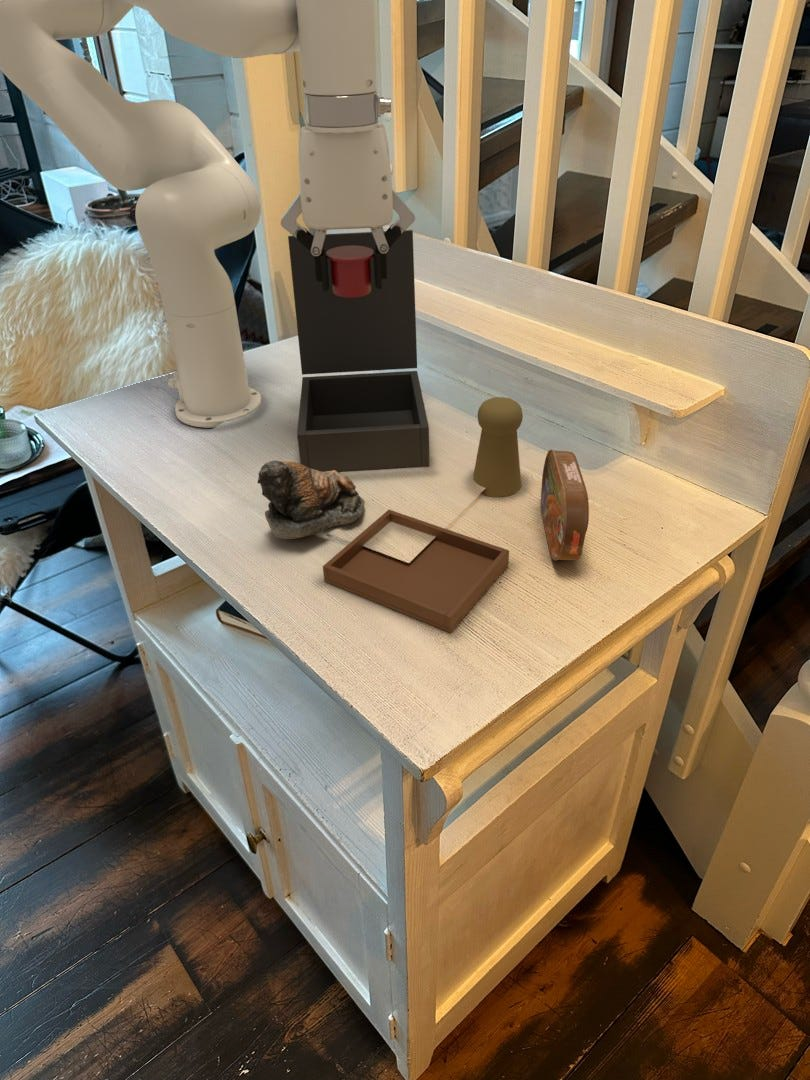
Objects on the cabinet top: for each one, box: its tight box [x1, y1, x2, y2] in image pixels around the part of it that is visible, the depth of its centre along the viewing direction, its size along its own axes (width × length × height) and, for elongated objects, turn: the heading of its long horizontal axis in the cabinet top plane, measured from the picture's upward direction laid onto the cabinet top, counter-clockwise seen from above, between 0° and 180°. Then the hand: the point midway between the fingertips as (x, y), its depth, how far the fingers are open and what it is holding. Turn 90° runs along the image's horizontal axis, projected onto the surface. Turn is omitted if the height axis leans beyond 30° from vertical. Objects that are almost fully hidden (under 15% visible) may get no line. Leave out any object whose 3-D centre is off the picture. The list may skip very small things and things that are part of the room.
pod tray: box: [322, 509, 510, 634], centre depth 79 cm, size 15×12×2 cm
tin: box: [540, 449, 590, 561], centre depth 82 cm, size 15×3×8 cm, turn 178°
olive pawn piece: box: [472, 396, 524, 498], centre depth 90 cm, size 6×6×11 cm
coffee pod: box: [326, 246, 374, 298], centre depth 89 cm, size 6×6×4 cm
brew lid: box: [287, 229, 418, 376], centre depth 103 cm, size 18×16×5 cm
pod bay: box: [296, 370, 430, 473], centre depth 100 cm, size 17×16×6 cm
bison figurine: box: [257, 460, 366, 540], centre depth 84 cm, size 12×7×10 cm, turn 124°
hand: (352, 284), depth 90 cm, fingers closed on coffee pod, 5 cm apart
